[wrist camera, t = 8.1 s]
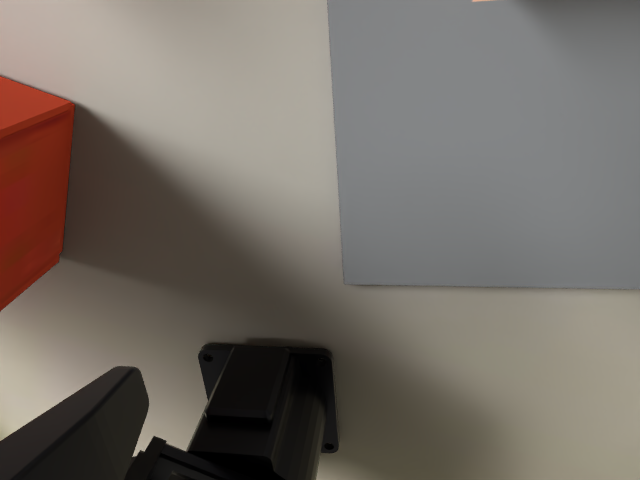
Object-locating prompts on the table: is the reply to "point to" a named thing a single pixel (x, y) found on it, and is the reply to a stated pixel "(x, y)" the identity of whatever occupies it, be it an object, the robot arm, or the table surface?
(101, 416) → the robot arm
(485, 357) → the table surface
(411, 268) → the mat
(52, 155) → the file binder
